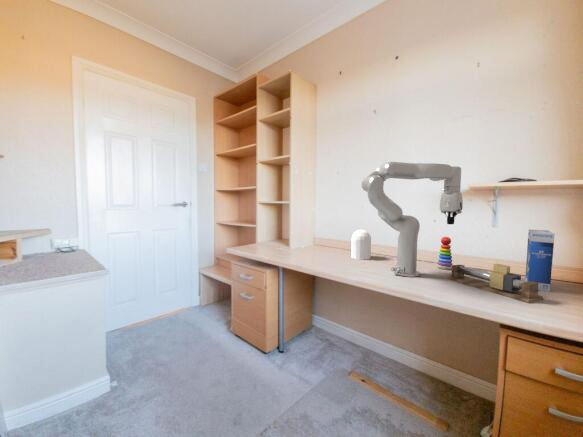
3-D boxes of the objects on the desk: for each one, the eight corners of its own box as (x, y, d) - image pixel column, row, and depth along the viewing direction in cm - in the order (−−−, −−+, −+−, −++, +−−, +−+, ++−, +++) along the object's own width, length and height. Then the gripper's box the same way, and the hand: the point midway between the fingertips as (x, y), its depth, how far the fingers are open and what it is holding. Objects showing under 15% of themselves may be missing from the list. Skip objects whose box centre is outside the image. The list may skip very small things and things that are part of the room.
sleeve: (489, 286, 110) (490, 264, 109) (498, 284, 112) (499, 263, 112) (502, 290, 105) (503, 267, 105) (511, 288, 108) (513, 265, 107)
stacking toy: (455, 270, 143) (457, 237, 141) (441, 270, 143) (443, 237, 142) (447, 266, 151) (448, 235, 149) (434, 266, 151) (435, 235, 149)
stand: (447, 278, 127) (447, 265, 126) (460, 276, 130) (460, 263, 130) (528, 303, 96) (529, 285, 96) (542, 299, 100) (543, 282, 99)
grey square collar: (502, 289, 105) (503, 275, 105) (511, 287, 108) (512, 273, 107) (511, 291, 103) (512, 277, 102) (520, 289, 105) (521, 275, 105)
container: (374, 257, 175) (374, 229, 174) (365, 260, 166) (365, 230, 164) (356, 254, 185) (357, 227, 183) (347, 257, 175) (347, 229, 174)
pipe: (454, 272, 126) (454, 265, 126) (459, 272, 128) (459, 264, 127) (528, 292, 98) (529, 283, 98) (534, 291, 100) (534, 282, 100)
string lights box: (524, 281, 123) (527, 229, 121) (546, 284, 118) (550, 230, 116) (527, 288, 113) (530, 231, 111) (551, 292, 108) (555, 233, 106)
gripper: (434, 190, 139) (433, 223, 140) (461, 189, 125) (459, 225, 126) (443, 190, 142) (442, 222, 143) (471, 189, 128) (469, 225, 129)
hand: (450, 224), depth 135 cm, fingers closed
